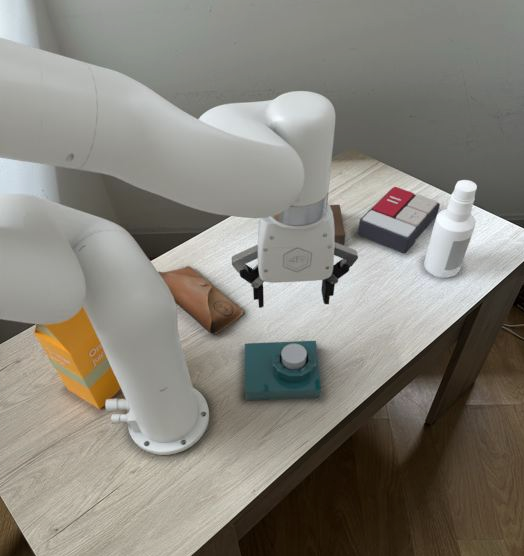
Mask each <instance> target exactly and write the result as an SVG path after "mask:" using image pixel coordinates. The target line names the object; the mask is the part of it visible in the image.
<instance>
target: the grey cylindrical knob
mask: <svg viewBox="0 0 524 556" xmlns="http://www.w3.org/2000/svg"><path fill="white" fill-rule="evenodd" d="M281 359H282V364H283V365H284V366H285V367H286V368H288V369H291V370H297V369H300V368H302V367H303V366H304V365H305V364H306V360H307V352H306V349H305V348H304V347H303V346H301V345H299V344H289V345H287V346H285V347H284V348H283V350H282V352H281Z"/></svg>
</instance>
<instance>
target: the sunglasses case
mask: <svg viewBox="0 0 524 556" xmlns="http://www.w3.org/2000/svg"><path fill="white" fill-rule="evenodd" d="M158 273H159V274H160V275H161V277H162V278H163V280H164V281H165V283H166V284H167V286H168V288H169V289H170V291H171V293H172V295H173V298H174V300H175V303H176V305H177V306H179V307H180V309H182V310H183V311H184V312H186V313H187V314H188V315H189V316H190V317H192V318H193V320H195V322H197V323H198V324H199V325H200V326H201V327H202V328H203V329H204V330H206V331H207V332H208V333H210V334H212V335H214V336H217V335H219V334H220V333H221V332H223V331H224V330H226V329H227V328H228V327H230V326H231V325H232V324H234V323H235V322H237V321H238V320H239V319H240V318H242V317H243V316H244V313H245V312H244V310H243V309H242V308H241V307H240V306H239V305H237V303H235V302H234V301H233V300H231V299H230V298H229V297H228V296H226V295H225V294H224V293H223V292H222V291H220V290H219V289H218V288H216V287H215V286H214V285H212V283H211V282H209V281H208V280H207V279H206V278H204V277H203V276H202V275H201V274H200V273H199V272H197V271H196V270H195V269H194V268H193V267H192V266H189V265H187V266H185V267H183V268H178V269H174V270H168V271H158Z"/></svg>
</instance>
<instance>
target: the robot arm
mask: <svg viewBox="0 0 524 556" xmlns="http://www.w3.org/2000/svg"><path fill="white" fill-rule="evenodd" d="M335 129H336V110H335V107H334V105H333V103H332V102H331V101H330V100H329V99H328V98H327V97H326V96H324V95H322V94H320V93H317V92H314V91H307V90H296V91H288V92H285V93H282V94H280V95H278V96H277V97H275V98H274V99H271V100H270V99H269V100H261V101H250V102H249V101H248V102H247V101H246V102H231V103H225V104H221V105H217V106H215V107H212V108H210V109H208V110H207V111H205V112H204V113H203V114H201V115H200V117H198V118H196V117H194V116H193V115H191V114H189V113H187V112H185V111H184V110H182V109H181V108H179V107H178V106H176V105H174V104H173V103H171V102H170V101H169V100H167V99H166V98H164V97H163V96H161V95H159V94H158V93H157V92H155V91H154V90H153V89H151V88H149V87H148V86H147V85H145V84H143V83H141V82H139V81H138V80H136V79H134V78H132V77H130V76H128V75H126V74H124V73H122V72H119V71H117V70H115V69H110V68H107V67H103V66H99V65H96V64H92V63H89V62H86V61H81V60H78V59H75V58H72V57H68V56H65V55H61V54H58V53H54V52H50V51H47V50H43V49H40V48H36V47H33V46H30V45H27V44H24V43H21V42H17V41H13V40H10V39H6V38H3V37H0V159H6V160H13V161H20V162H27V163H32V164H33V163H34V164H39V165H40V164H41V165H47V166H53V167H59V168H66V169H72V170H78V171H85V172H90V173H97V174H101V175H106V176H111V177H114V178H116V179H118V180H121V181H122V182H125V183H127V184H129V185H131V186H133V187H136V188H139V189H140V190H143V191H146V192H148V193H151V194H153V195H158V196H160V197H162V198H164V199H167V200H170V201H172V202H175V203H178V204H180V205H183V206H186V207H189V208H192V209H195V210H199V211H201V212H205V213H210V214H214V215H221V216H228V217H234V218H235V217H236V218H244V219H259V224H258V232H257V244H255V245H253V246H252V247H249V248H247V249H245V250H243V251H241V252H239V253H236V254H234V255H232V257H231V265H232V267H233V269H235V270H236V272H237V273H238V274H239V277H240V278H242V279H243V280H244V281H246V282H247V283H249V284H250V286H251V288H252V293H253V294H252V295H253V300H254V301H255V300H256V301H258V308H259V309H263V308H264V307H265V306H264V305H265V303H264V296H265V295H264V283H272V284H274V283H278V284H279V283H296V282H300V283H301V282H316V281H321V297H322V302H323V304H324V305H330V298H331V297H334V294H335V285H336V284H338V282H339V279H341V278H342V277H343V276H345V275H346V274H347V273H349V272H350V268H351V267H353V265H354V264H355V263H356V262H357V260H358V259H359V256H358V252H357V250H356V249H355V248H351V247H349V246H346V245H345V244H344V245H341V244H339V243H336V242H335V229H334V217H333V212H332V210H331V207H330V205H331V204H329V192H330V183H331V182H330V181H331V171H332V160H333V150H334V140H335ZM335 257H338V258H341V259H340V260H339V261H337V262H336V263H334V262H335ZM255 260H257V264H256V265H255V266H254V267H253V268H252V267H251V266H249V265H248V264H249V263H251V262H253V261H255ZM158 272H159V271H158V270H157V269H156V267H155V265H154V264H153V262H152V261H151V260H150V258H149V257H148V256H147V255H146V253H145V252H144V250H143V249H142V247H141V246H140V245H139V243H138V242H137V241H136V240H135V238H134V237H133V236H132V235H131V234H130V233H129V232H128V230H126V229H125V228H124V227H123V226H120V225H119V224H117V223H115V222H113V221H111V220H108V219H106V218H103V217H101V216H96V215H94V214H91V213H88V212H85V211H82V210H79V209H76V208H73V207H69V206H68V205H64V204H60V203H58V202H54V201H52V200H49V199H46V198H43V197H39V196H36V195H31V194H26V193H4V194H0V320H3V321H11V322H18V323H24V324H33V325H36V324H46V325H47V324H56V323H61V322H64V321H67V320H69V319H70V318H72V317H73V316H75V315H76V314H77V313H78V312H79V311H80V309H81V308H82V306H83V308H84V310H85V312H86V314H87V316H88V318H89V320H90V322H91V324H92V326H93V328H94V330H95V332H96V334H97V337H98V339H99V341H100V343H101V345H102V347H103V349H104V352H105V354H106V357H107V359H108V361H109V364H110V366H111V368H112V370H113V372H114V375H115V376H116V378H117V381H118V383H119V385H120V387H121V389H120V390H121V392H122V394H123V396H124V398H111V399H107V400H106V403H105V405H104V406H105V410H106V412H119V411H126V413H123V414H122V413H112V414H111V416H110V422H111V424H121V423H122V424H123V423H125V424H127V429H128V433H129V434H130V437H131V439H132V440H133V442H134V443H135V445H136V446H138V447H139V449H142V450H144V452H147V453H150V454H152V455H157V456H170V455H175V454H179V453H181V452H184V451H186V450H188V449H189V448H191V447H193V446H194V445H195V444H196V443H197V442H199V440H200V439H201V438H202V437H203V435H204V434H205V432H206V430H207V429H208V425H209V421H210V409H209V406H208V402H207V400H206V398H205V396H204V395H203V394H202V393H201V392H200V391H199V390H198V389H196V388H195V387H194V386H193V383H192V379H191V375H190V372H189V368H188V364H187V360H186V356H185V353H184V349H183V346H182V342H181V337H180V333H179V332H180V331H179V325H178V323H179V322H178V321H179V320H178V319H179V317H178V307H177V304H176V303H175V300H174V298H173V295H172V293H171V291H170V289H169V288H168V286H167V284H166V283H165V281H164V280H163V278H162V277H161V275H160V274H159V273H158Z"/></svg>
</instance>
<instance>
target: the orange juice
mask: <svg viewBox="0 0 524 556" xmlns="http://www.w3.org/2000/svg"><path fill="white" fill-rule="evenodd" d="M33 335H34V336H35V337H36V339H37V341H38V342H39V344H40V345H41V347H42V350H43V351H44V353H45V354H46V356H47V357H48V360H49V361H50V363H51V365H52V367H53V368H54V369H55V371H56V373H57V374H58V376H59V378H60V380H61V381H62V382H63V384H64V386H65V387H66V389H67V390H68V391H69V392H71V393H72V394H74V395H76V396H78V397H79V398H80V399H82V400H84V401H85V402H87V403H89V404H90V405H92V406H93V407H94V408H97V410H101V409H103V407H104V406H105V403H106V400H107V399H113V398H114V396H115V395H116V394H117V393H118V392H119V391H120V390H122V389H121V387H120V385H119V383H118V381H117V378H116V376H115V375H114V372H113V370H112V368H111V366H110V364H109V361H108V359H107V357H106V354H105V352H104V349H103V347H102V345H101V343H100V341H99V339H98V337H97V334H96V332H95V330H94V328H93V326H92V324H91V322H90V320H89V318H88V316H87V314H86V312H85V310H84V308H83V306H82V308H81V309H80V311H79V312H78V313H77V314H76V315H75V316H73V317H72V318H70V319H69V320H67V321H64V322H61V323H56V324H47V325H46V324H35V328H34V331H33Z"/></svg>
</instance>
